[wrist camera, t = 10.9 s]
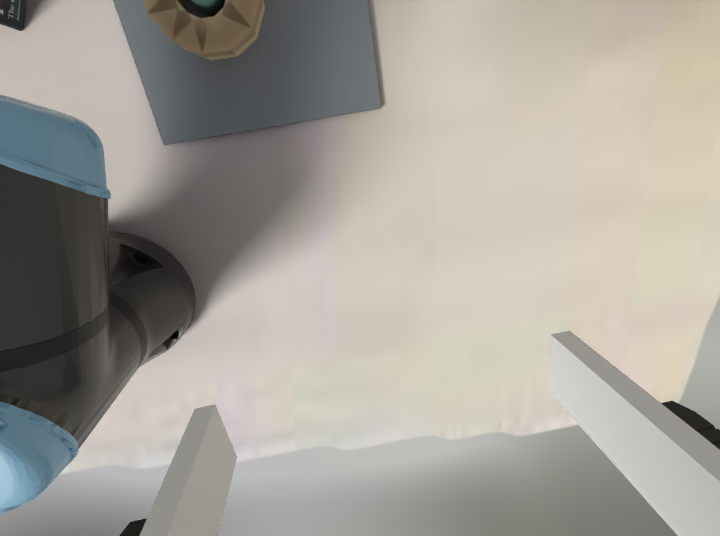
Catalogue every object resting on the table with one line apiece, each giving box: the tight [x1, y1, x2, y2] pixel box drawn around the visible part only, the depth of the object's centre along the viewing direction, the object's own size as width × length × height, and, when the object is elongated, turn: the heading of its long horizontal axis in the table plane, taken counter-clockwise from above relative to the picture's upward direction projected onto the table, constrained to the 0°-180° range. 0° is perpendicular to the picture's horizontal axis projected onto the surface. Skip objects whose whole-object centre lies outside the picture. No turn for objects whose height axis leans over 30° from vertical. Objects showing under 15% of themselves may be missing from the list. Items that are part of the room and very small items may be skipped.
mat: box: [113, 0, 381, 145], centre depth 32 cm, size 22×17×1 cm
